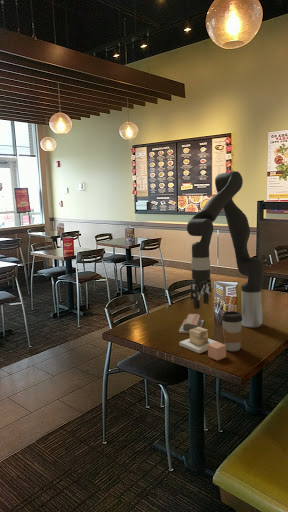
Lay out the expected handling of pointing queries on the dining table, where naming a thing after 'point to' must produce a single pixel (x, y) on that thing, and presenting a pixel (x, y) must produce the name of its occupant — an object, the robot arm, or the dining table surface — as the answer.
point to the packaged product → (191, 323)
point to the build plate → (195, 347)
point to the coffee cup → (232, 330)
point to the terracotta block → (217, 351)
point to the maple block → (198, 335)
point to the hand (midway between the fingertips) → (201, 306)
